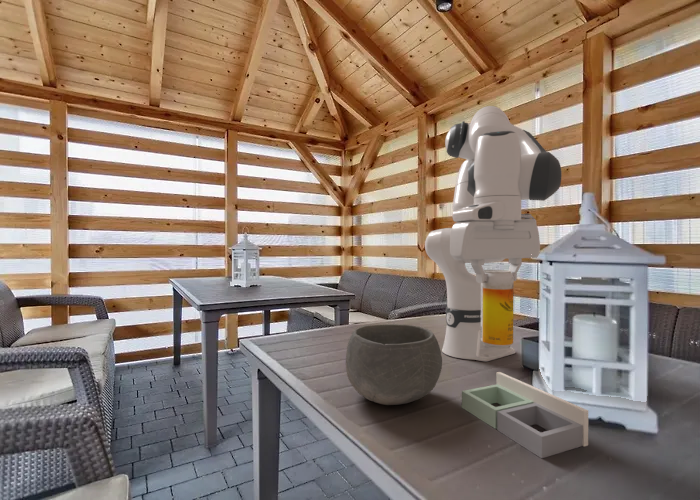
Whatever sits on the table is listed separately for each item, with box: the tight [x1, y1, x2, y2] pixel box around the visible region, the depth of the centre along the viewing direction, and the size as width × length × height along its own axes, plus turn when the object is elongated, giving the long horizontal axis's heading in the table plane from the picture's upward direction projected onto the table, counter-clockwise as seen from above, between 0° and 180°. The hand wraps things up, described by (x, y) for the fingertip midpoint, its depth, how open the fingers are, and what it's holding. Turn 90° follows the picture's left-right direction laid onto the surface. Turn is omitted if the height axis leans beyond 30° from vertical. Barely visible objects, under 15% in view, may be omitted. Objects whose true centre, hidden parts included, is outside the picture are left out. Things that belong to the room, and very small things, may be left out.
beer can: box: [481, 269, 515, 349], centre depth 74 cm, size 6×6×15 cm
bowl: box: [345, 323, 443, 406], centre depth 81 cm, size 21×21×15 cm
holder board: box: [461, 371, 589, 459], centre depth 70 cm, size 10×20×6 cm, turn 22°
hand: (496, 281), depth 74 cm, fingers closed on beer can, 6 cm apart
